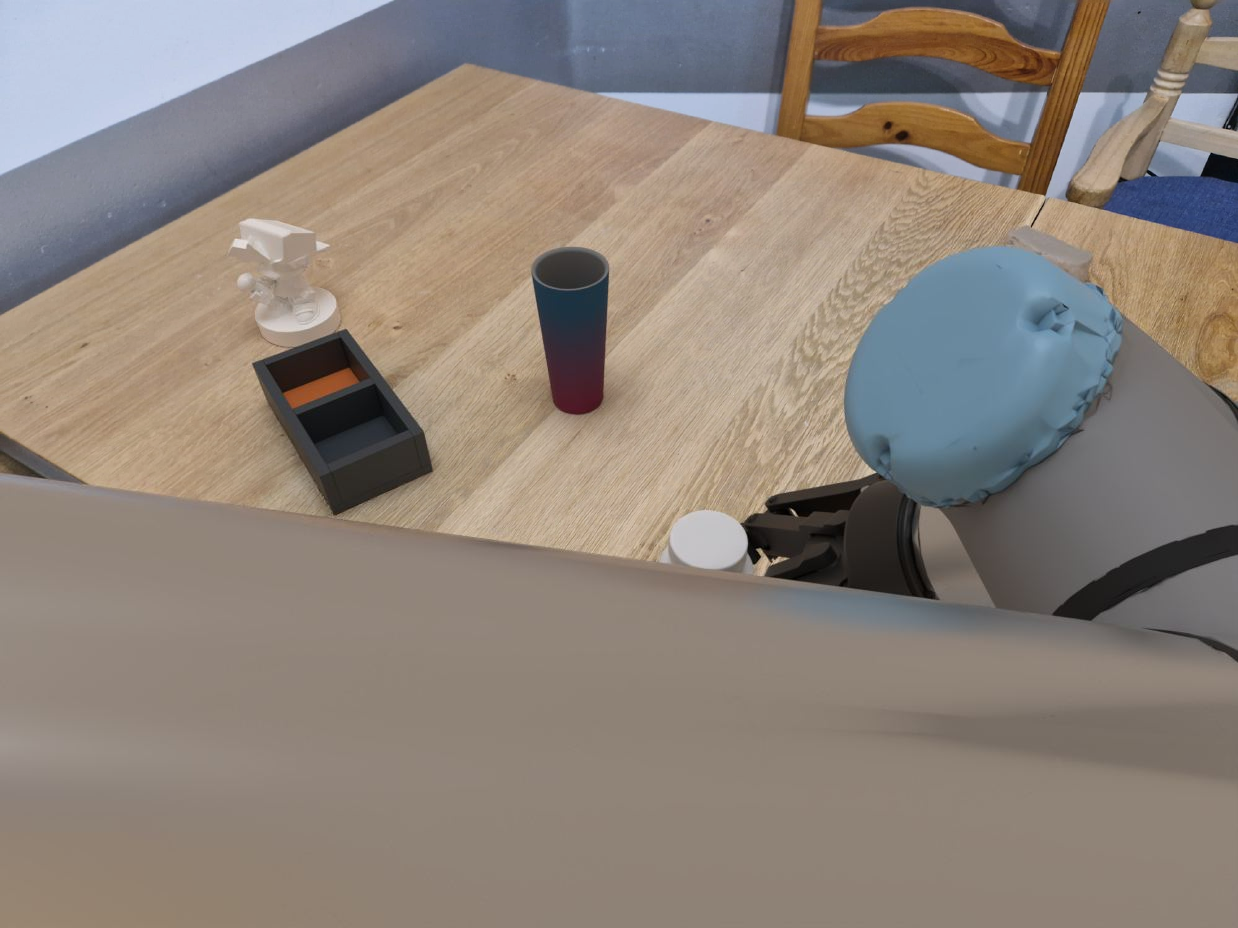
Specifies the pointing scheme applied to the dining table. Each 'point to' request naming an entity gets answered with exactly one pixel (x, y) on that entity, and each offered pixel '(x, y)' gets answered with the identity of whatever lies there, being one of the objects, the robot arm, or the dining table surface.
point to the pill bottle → (708, 543)
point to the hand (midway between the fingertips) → (655, 588)
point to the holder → (343, 420)
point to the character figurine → (284, 282)
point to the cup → (573, 324)
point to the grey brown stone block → (1052, 250)
